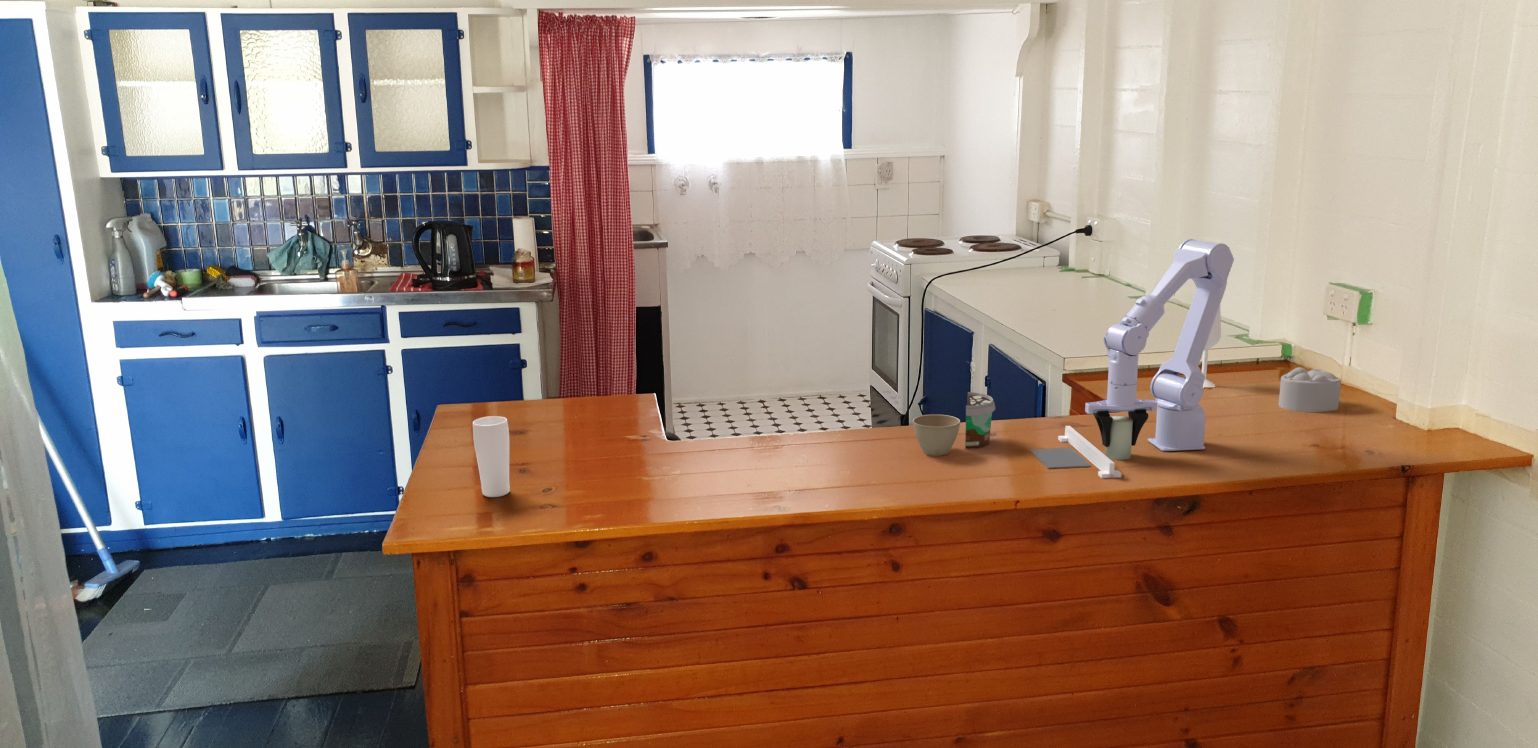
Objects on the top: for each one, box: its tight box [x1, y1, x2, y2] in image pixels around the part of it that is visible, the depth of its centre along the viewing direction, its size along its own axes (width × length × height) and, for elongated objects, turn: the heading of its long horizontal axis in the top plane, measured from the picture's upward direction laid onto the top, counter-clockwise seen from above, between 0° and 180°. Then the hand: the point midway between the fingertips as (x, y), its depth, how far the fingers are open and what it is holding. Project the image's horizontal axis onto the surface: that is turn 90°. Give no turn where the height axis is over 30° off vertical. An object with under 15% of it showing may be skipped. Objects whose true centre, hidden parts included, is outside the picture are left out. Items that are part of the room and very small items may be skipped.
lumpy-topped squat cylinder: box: [1278, 366, 1342, 413], centre depth 267 cm, size 10×13×9 cm
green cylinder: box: [1105, 415, 1133, 461], centre depth 234 cm, size 5×5×8 cm
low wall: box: [1057, 425, 1122, 479], centre depth 234 cm, size 4×26×3 cm, turn 5°
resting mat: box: [1029, 447, 1092, 470], centre depth 234 cm, size 9×12×1 cm
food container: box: [964, 391, 996, 450], centre depth 244 cm, size 12×6×10 cm, turn 168°
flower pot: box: [912, 414, 961, 457], centre depth 239 cm, size 10×10×7 cm
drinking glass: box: [472, 415, 511, 498], centre depth 219 cm, size 7×7×15 cm
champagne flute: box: [1201, 305, 1222, 388], centre depth 285 cm, size 7×7×24 cm
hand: (1118, 444), depth 234 cm, fingers closed on green cylinder, 5 cm apart
